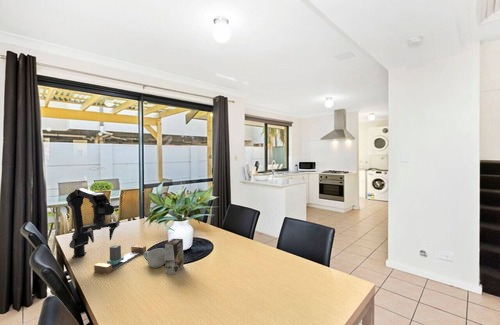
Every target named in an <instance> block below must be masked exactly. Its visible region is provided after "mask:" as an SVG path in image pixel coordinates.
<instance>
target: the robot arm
mask: <svg viewBox="0 0 500 325" xmlns="http://www.w3.org/2000/svg"><path fill="white" fill-rule="evenodd" d="M84 199H88V200H89V203H91V204H92V205H91V206H90V207H91V208H92V210H93V211H92V212H93V219H92V222H91V224H86V225H84V221H83V213H82V212H83V211H82V205H83V204H84ZM65 200H66V203H67V206H68V207H69V208H70V209H71V214H72V221H73V223H72V224H73V228H74V232H73V234H72V236H71V240H70V242H69V248H70V249H73V255H72V256H71V258H72V259H73V258H81V257H85V256H86V255H87V251H86V249H85V248H86V247H85V246H86V245H89V241H91V243H94V242H95V238H94V231H99V230H102V229H104V228H105V229H106V228H109V229H108V231H109V241H111V240H112V238H113V235H114V232H115V229H117V228H118V227H119V226H120V221H118V220H115V221H111V222H109V223H107V219H106V217H107V216H111V215H113V214H114V213H115V207H114V206H113V205H111V203H110V200H109V199H108V198H107V194H105V193H104V192H94V191H91V190H88V189H87V188H85V187H81V188H76V189H75V190H74V191H72V192H70V193H69V194H68V195H67V196H66V198H65Z"/></svg>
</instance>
